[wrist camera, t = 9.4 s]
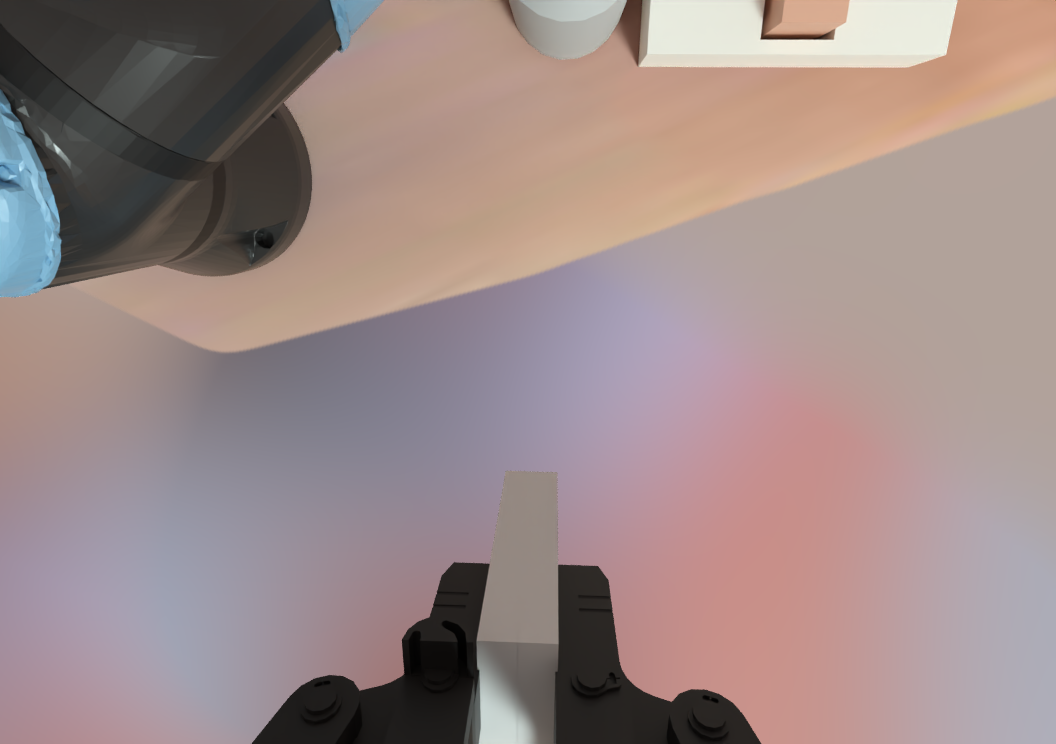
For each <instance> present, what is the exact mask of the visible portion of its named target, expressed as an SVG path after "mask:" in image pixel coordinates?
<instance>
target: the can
mask: <svg viewBox="0 0 1056 744" xmlns="http://www.w3.org/2000/svg"><path fill="white" fill-rule="evenodd" d="M626 2H627V0H509V3H510V7H511V10H512V13H513V16H514V19H515V22H516V25H517V28H518V30H519V31H520V33H521V34H522V35H523V37H524V38H525V40H526V41H527V42H528V44H529V45H531V46H532V47H533V48H535V49H536V50H538V51H539V52H540V53H542V54H543V55H546V56H549V57H553V58H556V59H559V60H561V59H577V58H580V57H582V56H585V55H587V54H589V53H592V52H594V51H595V50H596V49H597V48H598V47H600V46H601V45H602V44H603V43H604V42H605V41H607V40H608V38H609V37H610V35H611V34H612V32H613V30H614V29H615V27H616V26H617V24H618V22H619V20H620V17H621V15H622V12H623V9H624V7H625V4H626Z"/></svg>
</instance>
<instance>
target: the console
mask: <svg viewBox="0 0 1056 744" xmlns="http://www.w3.org/2000/svg"><path fill="white" fill-rule="evenodd" d="M764 5H765V0H642V15H641V31H640V47H639V63H638V67H898V68H908V67H911V66H914V65H917V64H920V63H923V62H926V61H929V60H932V59H935V58H938V57H941V56H944V55H946V52H947V47H948V43H949V38H950V33H951V28H952V24H953V19H954V14H955V9H956V5H957V0H850V1H849V8H848V14H847V20H846V23H844V24H842V25H840V26H839V27H837V28H835V29H833V30H832V31H830V32H828V33H826V34H824V35H823V36H821V37H819V38H817V39H815V40H760V39H761V30H762V22H763V14H764Z"/></svg>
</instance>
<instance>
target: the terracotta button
mask: <svg viewBox="0 0 1056 744" xmlns="http://www.w3.org/2000/svg"><path fill="white" fill-rule="evenodd" d="M849 1H850V0H765V5H764V14H763V22H762V30H761V39H760V40H815V39H817V38H819V37H821V36H823V35H824V34H826V33H828V32H830V31H832V30H833V29H835V28H837V27H839V26H840V25H842V24H844V23H846V20H847V14H848V8H849Z"/></svg>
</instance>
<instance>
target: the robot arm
mask: <svg viewBox="0 0 1056 744" xmlns="http://www.w3.org/2000/svg"><path fill="white" fill-rule="evenodd" d="M383 1H384V0H0V297H19V296H26V295H31V294H32V293H37V292H39V291H40V290H41V289H46V288H51V287H55V286H60V285H65V284H69V283H74V282H79V281H84V280H88V279H93V278H98V277H103V276H107V275H112V274H117V273H121V272H126V271H131V270H136V269H140V268H145V267H150V266H154V265H160V266H163V267H167V268H170V269H174V270H178V271H181V272H185V273H189V274H194V275H200V276H227V275H233V274H237V273H241V272H245V271H249V270H252V269H255V268H258V267H261V266H263V265H265V264H267V263H269V262H271V261H272V260H274V259H275V258H277V257H278V256H279V255H281V254H282V253H283V252H284V251H285V250H286V249H287V248H288V247H289V246H290V245H291V244H292V242H293V241H294V240H295V238H296V237H297V235H298V234H299V232H300V230H301V228H302V226H303V224H304V222H305V219H306V216H307V213H308V210H309V205H310V200H311V191H312V175H311V166H310V160H309V155H308V152H307V148H306V145H305V142H304V139H303V137H302V134H301V132H300V130H299V128H298V126H297V124H296V122H295V120H294V119H293V117H292V115H291V114H290V112H289V111H288V109H287V108H286V107H285V105H284V104H283V103H284V102H285V101H286V100H287V99H288V98H289V97H290V96H291V95H292V94H293V93H294V92H295V91H296V90H297V89H298V88H299V87H300V86H301V85H302V84H303V83H304V82H305V81H306V80H307V79H308V78H309V77H310V76H311V75H312V74H313V73H314V72H315V71H316V70H317V69H318V68H319V67H320V66H321V65H322V64H323V63H324V62H325V61H326V60H327V59H328V58H329V57H330V56H331V55H332V54H333V53H334V52H335V51H336V50H338V51H339V52H344V51H345V50H346V49H347V48H348V46H349V44H350V39H351V36H352V35H353V34H354V33H355V32H356V30H357V29H358V28H359V27H360V26H361V25H362V24H363V23H364V22H365V21H366V20H367V18H368V17H369V16H370V15H371V14H372V13H373V12H374V11H375V10H376V9H377V8H378V7H379V5H380V4H381V3H382V2H383ZM557 508H558V507H557V473H556V472H525V471H506V473H505V479H504V484H503V490H502V496H501V502H500V508H499V513H498V519H497V525H496V532H495V537H494V542H493V548H492V554H491V560H490V564H483V563H455V562H454V563H453V564H452V565H451V566H450V567H449V568H448V570H447V571H446V572H445V573H444V574H443V575H442V577H441V580H440V584H439V587H438V590H437V595H436V598H435V601H434V604H433V608H432V611H431V614H430V617H429V618H426V619H424V620H421V621H419V622H417V623H416V624H415V625H413V626H412V627H411V628H409V629H408V630H407V632H406V634H405V635H404V637H403V639H402V648H403V662H404V675H403V676H402V677H400V678H398V679H396V680H394V681H393V682H391V683H388V684H385V685H382V686H378V687H374V688H369V689H365V690H361V691H359V689H358V688H357V686H356V685H355V684H354V682H353V681H351V680H349V679H347V678H345V677H343V676H334V675H328V676H324V677H319V678H315V679H313V680H311V681H310V682H307V683H306V684H304V685H302V686H301V687H299V688H298V689H297V690H296V691H295V692H294V693H293V694H292V695H291V696H290V697H289V698H288V699H287V701H286V702H285V703H284V704H283V705H282V707H281V708H280V709H279V710H278V712H277V713H276V714H275V715H274V717H273V718H272V719H271V721H269V723H268V724H267V725H266V726H265V728H264V729H263V730H262V732H261V733H260V734H259V735H258V736H257V738H256V739H255V740H254V741H253V742H252V744H761V743H760V741H759V739H758V738H757V736H756V734H755V733H754V731H753V730H752V728H751V726H750V725H749V723H748V722H747V720H746V719H745V717H744V715H743V714H742V713H741V712H740V711H739V709H738V708H737V707H736V706H735V705H734V704H733V703H732V702H731V701H729V700H728V699H726V698H724V697H723V696H721V695H720V694H717V693H714V692H711V691H708V690H693V689H691V690H688V691H686V692H683V693H680V694H679V695H678V696H677V697H676V698H675V699H674V701H672V702H670V701H667V700H664V699H661V698H658V697H655V696H652V695H650V694H648V693H645V692H643V691H642V690H640V689H639V688H637V687H636V686H634V685H633V684H632V683H631V682H630V681H629V680H628V679H627V677H626V676H625V674H624V672H623V671H622V669H621V666H620V662H619V655H618V648H617V640H616V633H615V626H614V618H613V613H612V604H611V598H610V597H611V596H610V589H609V582H608V579H607V578H606V576H605V575H604V574H603V572H602V571H601V570H600V568H599V567H598V566H581V565H558V511H557Z"/></svg>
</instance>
